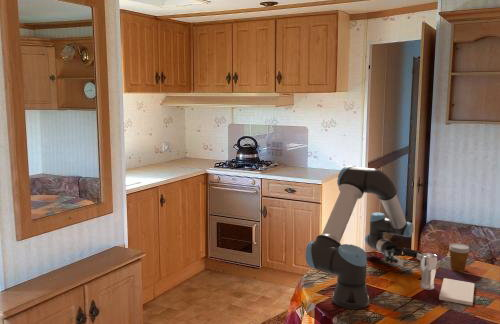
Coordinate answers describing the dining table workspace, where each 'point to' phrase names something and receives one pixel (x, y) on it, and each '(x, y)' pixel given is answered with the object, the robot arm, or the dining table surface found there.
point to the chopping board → (457, 291)
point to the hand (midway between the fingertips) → (414, 262)
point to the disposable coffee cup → (458, 256)
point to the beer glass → (428, 270)
